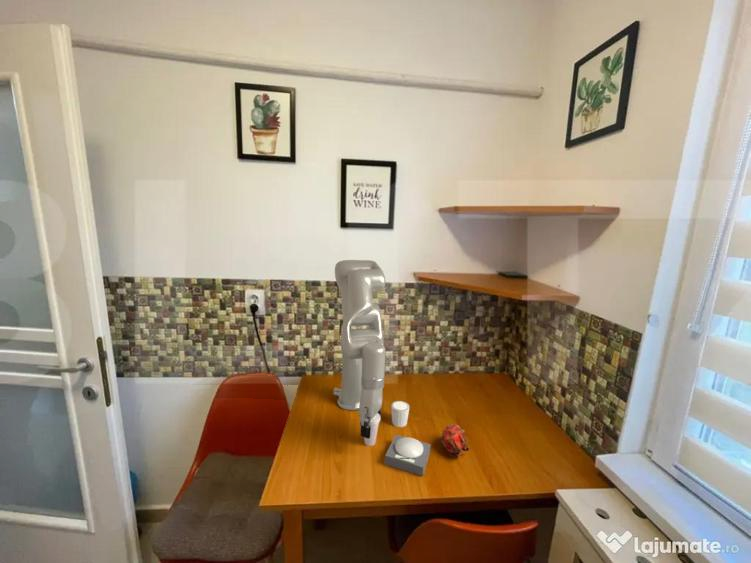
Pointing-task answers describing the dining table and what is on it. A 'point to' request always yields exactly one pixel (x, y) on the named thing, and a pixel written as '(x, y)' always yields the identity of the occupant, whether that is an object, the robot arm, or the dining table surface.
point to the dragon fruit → (454, 440)
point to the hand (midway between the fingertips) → (370, 428)
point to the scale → (408, 454)
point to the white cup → (400, 413)
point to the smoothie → (372, 430)
